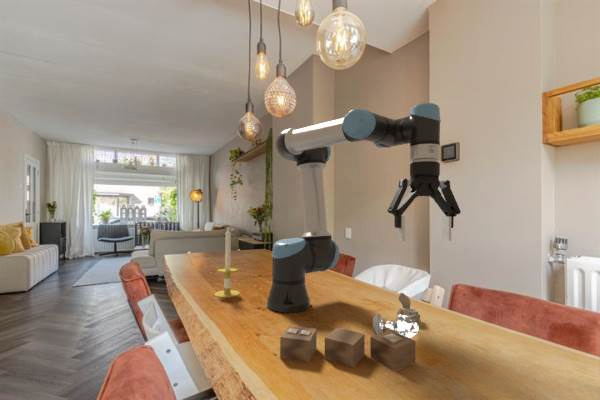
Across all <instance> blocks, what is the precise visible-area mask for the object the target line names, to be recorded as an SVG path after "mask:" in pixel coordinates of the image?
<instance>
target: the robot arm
mask: <svg viewBox="0 0 600 400" xmlns="http://www.w3.org/2000/svg"><path fill="white" fill-rule="evenodd" d="M441 122H442V121H441V114H440V107H439V105H437V104H436V103H433V102H425V103H424V102H423V103H418V104H415V105H414V106H412V107H411V108H410V112H409V116H405V117H400V118H396V119H393V118H390V117H386V116H384V115H380V114H377V113H374V112H371V111H369V110H366V109H363V108H352V109H351V110H349V112H347V113H346V115H344V116H343V117H340V118H336V119H332V120H328V121H324V122H321V123H317V124H313V125H309V126H306V127H301V128H299V127H295V126H294V127H291V128H287V129H284V130H283V131H281V132H279V134H278V136H277V138H276V140H275V147H276V150H277V152H278V154H279V156H280V157H281V158H283V159H285V160H287V161H292V162H295V163H296V169H297V170H298V171H299V172H300V176H301V177H300V178H301V179H300V180H301V193H302V207H303V221H304V222H303V223H304V233H303V234H302V236H301V237H292V238H285V239H284V238H282V239H279V240H277V241H275V242H274V243H273V244H272V252H271V257H272V267H271V268H272V270H271V271H272V273H271V274H272V275H271V276H272V277H271V279H272V282H271V287H270V290H269V294H268V297H267V300H266V307H267V308H268V309H269V310H271V311H274V312H278V313H298V312H303V311H305V310H307V309H309V308H310V306H311V299H310V297H309V294H308V289H307V286H306V274H310V273H315V272H316V273H317V272H326V271H328V270H331V269H333V268H334V267H335V266H336V265H337V263H338V262H339V258H340V249H339V246H338V244H337V243H336V241H335V240H333V238H332V234H331V233H330V231H328V226H327V225H328V223H327V213H326V202H325V201H326V200H325V199H326V198H325V197H326V196H325V187H324V175H323V173H324V171H323V170H324V169H325V168H326V166H327V165H326V163H328V161H329V160H330V157H331V154H332V152H331V147H332V146H338V145H344V144H349V143H357V142H361V141H366V142H371V143H373V144H374V145H375V146H376V147H377V148H381V149H382V148H389V149H390V148H393V147H396V146H397V147H398V146H402V145H408V144H410V145H409V161H410V162H411V163H410V164H409V176H410V178H409V179H407V178H401V179H399V180H398V187H397V190H396V191H395V194H394V196H393V198H392V199H391V203H390V205H388V209H387V213H388V214H391V215H392V216H394V224H393V225H394V228H396V230H397V231H396V241H400V242H405V241H406V240H405V239H406V216H405V215H404V216H403V214H404V213H405V212H406V210H408V208H409V207H410V206H411V204H412V203H413V201H414V200H415V199H416V198H418V197H430V198H431V199H433V201H434V202H435V204H437V206H438V207H439V208H440V210H441V212H442V213H443V214H444V215H445V216H442V224H441V225H442V228H441V229H442V233H441V235H442V237H441V239H442V240H443V241H448V242H450V241H452V229H453V228H454V217H457V216H458V215H460V214H461V209H460V207H459V205H458V202H457V199H456V198H455V195H454V193H453V191H452V188H451V181H450V180H449V179H447V180H441V181H440V178H439V177H440V175H441V174H440V173H441V163H440V162H439V161H440V159H441V158H440V157H441V156H440V155H441V153H440V152H441V150H440V149H441V142H440V141H441V139H440V138H441V136H440V135H441ZM408 188H410V191H409V192H408V193H407V195H406V197H405V198H404V199H403V197H404V196H405V194H406V191H407V190H408ZM439 188H440V190H441V191H440V190H439Z"/></svg>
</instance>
